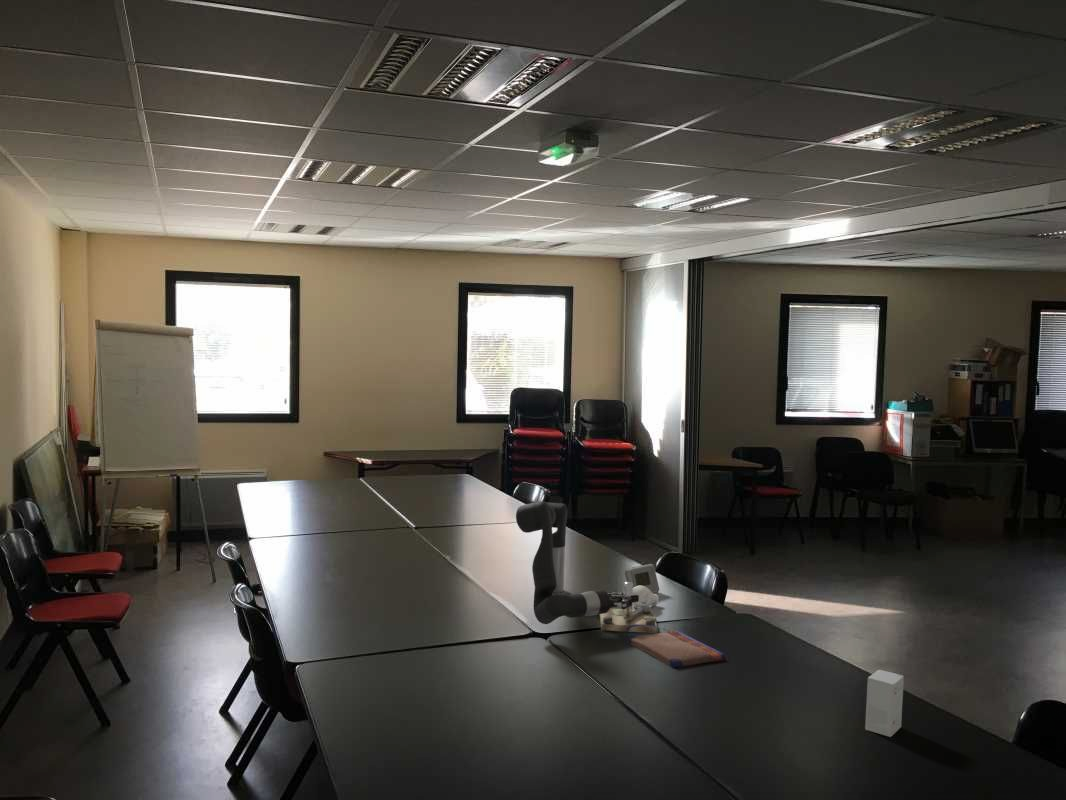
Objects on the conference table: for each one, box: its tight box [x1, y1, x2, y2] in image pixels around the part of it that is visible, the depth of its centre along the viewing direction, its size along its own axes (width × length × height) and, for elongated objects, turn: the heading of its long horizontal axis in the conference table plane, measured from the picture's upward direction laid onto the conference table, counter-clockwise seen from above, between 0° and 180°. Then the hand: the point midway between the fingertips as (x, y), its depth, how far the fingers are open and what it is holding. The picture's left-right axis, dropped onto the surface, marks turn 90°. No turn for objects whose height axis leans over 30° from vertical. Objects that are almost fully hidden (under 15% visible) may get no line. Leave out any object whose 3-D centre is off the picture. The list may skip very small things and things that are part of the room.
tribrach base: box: [598, 608, 658, 634], centre depth 286 cm, size 18×18×4 cm
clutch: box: [626, 625, 726, 669], centre depth 261 cm, size 28×5×19 cm
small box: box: [864, 669, 905, 738], centre depth 209 cm, size 8×6×13 cm
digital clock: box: [624, 563, 660, 594], centre depth 321 cm, size 16×9×11 cm, turn 122°
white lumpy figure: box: [632, 585, 660, 609], centre depth 305 cm, size 6×8×12 cm
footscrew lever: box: [622, 581, 652, 621], centre depth 286 cm, size 17×5×12 cm, turn 147°
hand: (634, 596), depth 282 cm, fingers closed on footscrew lever, 3 cm apart
